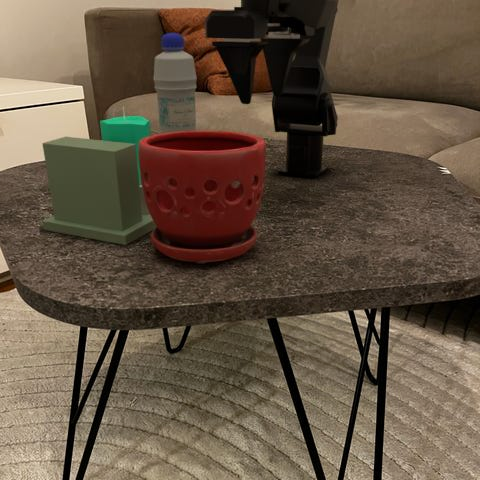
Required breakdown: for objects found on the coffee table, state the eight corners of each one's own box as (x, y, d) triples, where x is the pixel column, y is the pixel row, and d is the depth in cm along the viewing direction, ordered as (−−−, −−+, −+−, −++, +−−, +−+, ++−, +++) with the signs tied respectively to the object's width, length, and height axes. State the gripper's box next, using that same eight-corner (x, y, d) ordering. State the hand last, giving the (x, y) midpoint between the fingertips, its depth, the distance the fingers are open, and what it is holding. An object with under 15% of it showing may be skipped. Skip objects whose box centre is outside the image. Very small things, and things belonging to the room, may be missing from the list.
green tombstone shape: (130, 191, 86) (123, 118, 81) (202, 201, 81) (200, 124, 76) (43, 230, 71) (29, 144, 66) (126, 245, 67) (116, 154, 62)
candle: (118, 214, 73) (107, 112, 67) (102, 201, 77) (91, 105, 71) (163, 206, 75) (156, 107, 70) (145, 194, 80) (137, 101, 74)
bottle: (168, 173, 94) (159, 34, 85) (153, 164, 100) (143, 32, 90) (206, 168, 97) (202, 32, 87) (190, 159, 102) (184, 31, 93)
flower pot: (278, 264, 62) (281, 148, 56) (151, 276, 59) (141, 155, 53) (249, 224, 73) (250, 123, 67) (142, 232, 70) (133, 128, 65)
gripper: (298, -54, 58) (290, 113, 65) (357, -39, 72) (346, 96, 80) (200, -49, 62) (204, 106, 70) (275, -36, 77) (272, 91, 84)
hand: (262, 99), depth 76 cm, fingers open, 9 cm apart
